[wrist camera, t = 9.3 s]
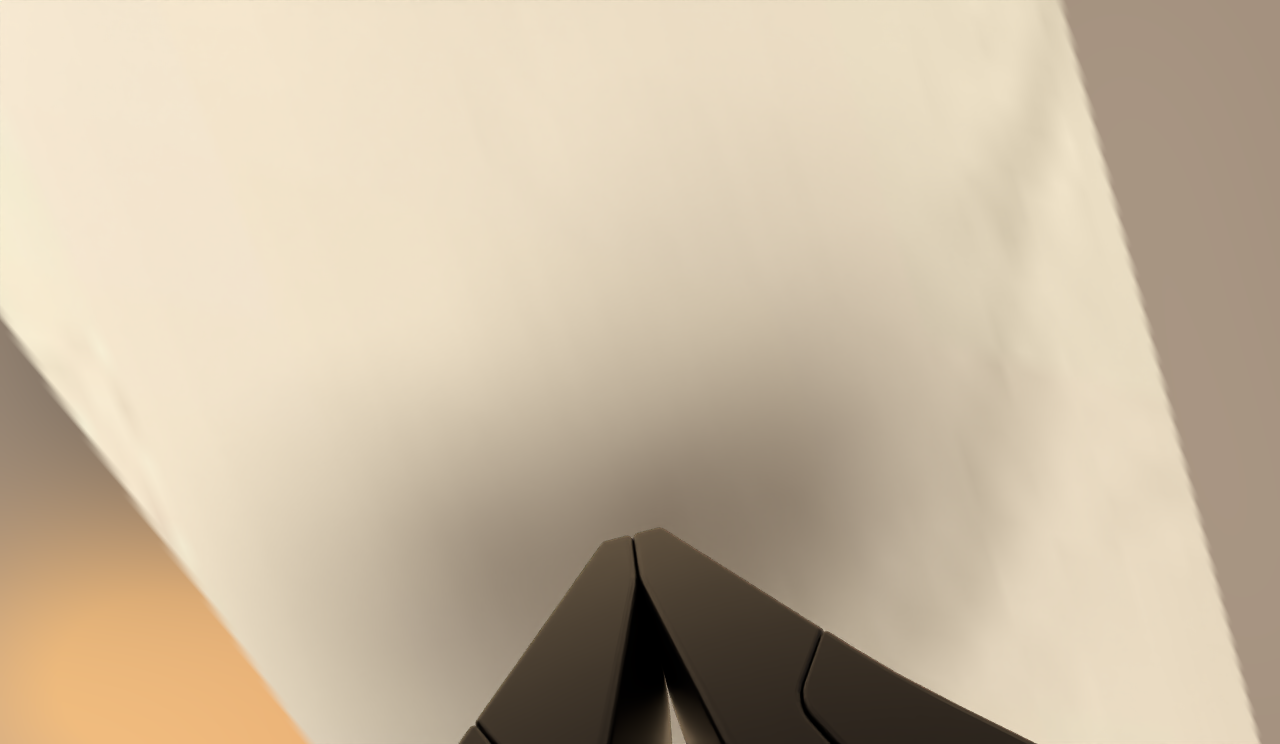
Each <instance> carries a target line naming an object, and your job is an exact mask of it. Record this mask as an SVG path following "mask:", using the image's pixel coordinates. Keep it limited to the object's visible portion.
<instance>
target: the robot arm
mask: <svg viewBox="0 0 1280 744" xmlns="http://www.w3.org/2000/svg"><path fill="white" fill-rule="evenodd" d="M633 540H634V541H633ZM665 679H666V681H665ZM666 683H667V687H668V691H669V695H670V698H671V701H672V704H673V707H674V710H675V713H676V716H677V719H678V722H679V724H680V727H681V730H682V733H683V736H684V738H685V741H686V744H1036V743H1034V742H1032V741H1030V740H1028V739H1026V738H1024V737H1022V736H1020V735H1018V734H1016V733H1014V732H1012V731H1010V730H1008V729H1006V728H1004V727H1002V726H1000V725H998V724H996V723H994V722H992V721H990V720H988V719H986V718H984V717H982V716H980V715H978V714H976V713H974V712H972V711H969V710H967V709H965V708H963V707H961V706H959V705H957V704H956V703H954V702H952V701H950V700H948V699H946V698H944V697H942V696H940V695H938V694H936V693H934V692H933V691H931V690H929V689H927V688H925V687H923V686H921V685H919V684H917V683H915V682H913V681H911V680H909V679H908V678H906V677H904V676H902V675H900V674H898V673H896V672H895V671H893V670H891V669H890V668H888V667H886V666H885V665H883V664H881V663H879V662H878V661H876V660H874V659H873V658H871V657H869V656H868V655H866V654H864V653H862V652H861V651H859V650H857V649H856V648H854V647H852V646H851V645H849V644H848V643H846V642H844V641H843V640H841V639H840V638H838V637H836V636H835V635H833V634H832V633H830V632H828V631H826V632H824V631H823V629H822V628H820V627H819V626H817V625H815V624H814V623H812V622H811V621H809V620H807V619H806V618H804V617H803V616H801V615H800V614H798V613H796V612H795V611H793V610H792V609H790V608H788V607H787V606H785V605H784V604H782V603H781V602H779V601H777V600H776V599H774V598H773V597H771V596H769V595H768V594H766V593H765V592H763V591H762V590H760V589H758V588H757V587H755V586H754V585H752V584H750V583H749V582H747V581H746V580H744V579H743V578H741V577H739V576H738V575H736V574H735V573H733V572H731V571H730V570H728V569H727V568H725V567H724V566H722V565H720V564H719V563H717V562H716V561H714V560H712V559H711V558H709V557H708V556H706V555H705V554H703V553H701V552H700V551H698V550H697V549H695V548H693V547H692V546H690V545H689V544H687V543H686V542H684V541H682V540H681V539H679V538H678V537H676V536H674V535H673V534H671V533H670V532H668V531H667V530H665V529H663V528H655V529H651V530H647V531H643V532H640V533H637V534H635V535H634V538H633V539H632V538H631V537H630V536H624V537H620V538H616V539H612V540H608V541H605V542H603V543H602V544H601V545H600V547H599V548H598V549H597V551H596V552H595V554H594V555H593V557H592V558H591V559H590V561H589V562H588V564H587V565H586V566H585V568H584V569H583V571H582V572H581V573H580V575H579V576H578V578H577V579H576V581H575V582H574V583H573V585H572V586H571V588H570V589H569V590H568V592H567V593H566V595H565V596H564V598H563V599H562V600H561V602H560V603H559V605H558V606H557V607H556V609H555V610H554V612H553V613H552V614H551V616H550V617H549V619H548V620H547V622H546V623H545V624H544V626H543V627H542V629H541V630H540V631H539V633H538V634H537V636H536V637H535V638H534V640H533V641H532V643H531V644H530V646H529V647H528V648H527V650H526V651H525V653H524V654H523V655H522V657H521V658H520V660H519V661H518V662H517V664H516V665H515V667H514V668H513V670H512V671H511V672H510V674H509V675H508V677H507V678H506V679H505V681H504V682H503V684H502V685H501V686H500V688H499V689H498V691H497V692H496V694H495V695H494V696H493V698H492V699H491V701H490V702H489V703H488V705H487V706H486V708H485V709H484V710H483V712H482V713H481V715H480V716H479V718H478V719H477V720H476V726H471V727H470V728H469V730H468V731H467V732H466V734H465V735H464V737H463V738H462V739H461V741H460V742H459V744H672V734H671V721H670V710H669V700H668V693H667V687H666Z"/></svg>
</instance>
